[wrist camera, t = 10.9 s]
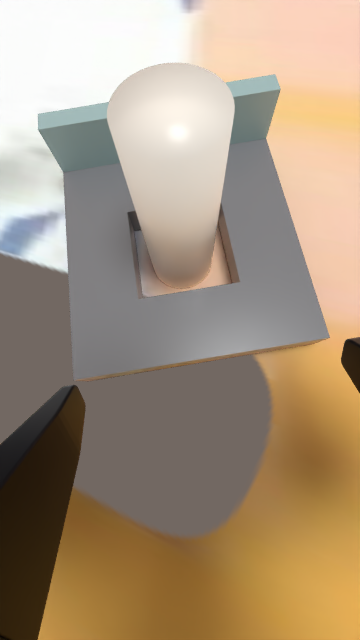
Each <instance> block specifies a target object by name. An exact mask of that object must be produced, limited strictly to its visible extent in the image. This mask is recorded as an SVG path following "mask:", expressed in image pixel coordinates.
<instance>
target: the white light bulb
mask: <svg viewBox="0 0 360 640" xmlns="http://www.w3.org/2000/svg"><path fill="white" fill-rule="evenodd" d="M234 112H235V104H234V99H233V95H232V93H231V91H230V89H229V87H228V86H227V85H226V83H225V82H224V81H223V80H222V79H221V78H220V77H218V76H217V75H216V74H214V73H213V72H211V71H209V70H207V69H205V68H202V67H199V66H196V65H192V64H186V63H164V64H159V65H154V66H151V67H148V68H145V69H142V70H140V71H138V72H136V73H134V74H133V75H131V76H130V77H128V78H127V79H126V80H124V81H123V82H122V83H121V84H120V85H119V86H118V87H117V89H116V90H115V91H114V93H113V95H112V96H111V98H110V101H109V104H108V108H107V121H108V125H109V128H110V132H111V135H112V138H113V141H114V144H115V147H116V151H117V154H118V157H119V160H120V163H121V166H122V170H123V173H124V176H125V179H126V182H127V185H128V189H129V192H130V195H131V198H132V201H133V204H134V208H135V211H136V214H137V217H138V220H139V224H140V227H141V230H142V233H143V236H144V239H145V243H146V246H147V249H148V252H149V255H150V258H151V262H152V265H153V268H154V271H155V273H156V275H157V277H158V278H159V279H160V280H161V281H162V282H163V283H165V284H166V285H168V286H170V287H173V288H180V289H183V288H190V287H193V286H195V285H197V284H199V283H200V282H201V281H203V280H204V279H205V277H206V276H207V275H208V273H209V271H210V268H211V262H212V256H213V249H214V243H215V236H216V230H217V223H218V217H219V210H220V203H221V197H222V190H223V184H224V177H225V171H226V164H227V158H228V151H229V145H230V138H231V132H232V125H233V119H234Z"/></svg>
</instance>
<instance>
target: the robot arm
mask: <svg viewBox="0 0 360 640" xmlns="http://www.w3.org/2000/svg"><path fill="white" fill-rule="evenodd" d="M341 362H342V365H343V367H344V369H345V370H346V372H347V374H348V375H349V377H350V378H351V380H352V382H353V383H354V385H355V387H356V388H357V390H358V391H359V393H360V337H357V338H351V339H347V340H346V341H345V343H344V347H343V352H342V357H341ZM84 416H85V402H84V400H83V398H82V395H81V393H80V391H79V389H78V387H77V386H76V385H70V386H64V387H62V388H61V389H60V390H59V391H58V392H56V393H55V395H53V396H52V397H51V398H50V399H49V400H48V401H47V402H46V403H45V404H44V405H42V406H41V407H40V408H39V409H38V410H37V411H36V412H35V413H34V414H33V415H32V416H31V417H29V418H28V419H27V420H26V421H25V422H24V423H23V424H22V425H21V426H20V427H19V428H18V429H16V430H15V431H14V432H13V433H12V434H11V435H10V436H9V437H8V438H7V439H6V440H5V441H3V442H2V443H1V444H0V640H38V635H39V631H40V627H41V622H42V618H43V614H44V609H45V605H46V600H47V596H48V592H49V587H50V583H51V579H52V574H53V570H54V566H55V561H56V557H57V552H58V548H59V544H60V539H61V535H62V531H63V526H64V522H65V518H66V513H67V509H68V504H69V500H70V496H71V491H72V487H73V483H74V478H75V474H76V469H77V465H78V460H79V455H80V450H81V442H82V433H83V425H84Z"/></svg>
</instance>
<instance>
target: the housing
mask: <svg viewBox="0 0 360 640" xmlns="http://www.w3.org/2000/svg"><path fill="white" fill-rule="evenodd" d="M226 85H227V86H228V87H229V89H230V91H231V93H232V95H233V99H234V104H235V112H234V119H233V125H232V132H231V138H230V145H229V151H228V158H227V164H226V171H225V177H224V184H223V190H222V197H221V203H220V210H219V217H218V224H219V228H220V233H221V237H222V241H223V246H224V250H225V254H226V259H227V263H228V267H229V272H230V276H231V280H232V284H226V285H220V286H214V287H208V288H202V289H196V290H190V291H184V292H178V293H172V294H166V295H160V296H154V297H148V298H143V296H142V288H141V280H140V272H139V265H138V257H137V249H136V241H135V234H134V230H140V229H141V227H140V224H139V220H138V217H137V214H136V211H135V208H134V204H133V201H132V198H131V195H130V192H129V189H128V185H127V182H126V179H125V176H124V173H123V170H122V166H121V163H120V160H119V157H118V154H117V151H116V147H115V144H114V141H113V138H112V135H111V132H110V128H109V125H108V121H107V108H108V104H109V102H107V103H101V104H95V105H89V106H83V107H77V108H71V109H65V110H59V111H53V112H47V113H41V114H38V130H39V132H40V134H41V135H42V137H43V139H44V140H45V142H46V144H47V145H48V147H49V149H50V150H51V152H52V154H53V156H54V157H55V159H56V161H57V162H58V164H59V166H60V167H61V169H62V171H63V174H64V194H65V215H66V236H67V256H68V277H69V297H70V318H71V337H72V359H73V380H76V381H93V380H99V379H105V378H111V377H118V376H124V375H130V374H136V373H141V372H148V371H154V370H159V369H165V368H172V367H178V366H184V365H190V364H195V363H201V362H208V361H214V360H219V359H226V358H232V357H238V356H244V355H250V354H256V353H262V352H268V351H274V350H280V349H286V348H292V347H298V346H304V345H310V344H314V343H317V342H320V341H322V340H325V339H328V338H330V337H329V333H328V330H327V327H326V324H325V321H324V318H323V315H322V312H321V308H320V305H319V302H318V299H317V296H316V293H315V290H314V287H313V284H312V280H311V277H310V274H309V271H308V268H307V265H306V262H305V259H304V255H303V252H302V249H301V246H300V243H299V240H298V237H297V234H296V231H295V227H294V224H293V221H292V218H291V215H290V212H289V209H288V206H287V203H286V199H285V196H284V193H283V190H282V187H281V184H280V181H279V178H278V174H277V171H276V168H275V165H274V162H273V159H272V156H271V153H270V150H269V146H268V143H267V140H266V137H267V133H268V130H269V127H270V123H271V120H272V116H273V113H274V110H275V106H276V103H277V99H278V96H279V93H280V86H279V84H278V81H277V78H276V75H275V74H274V75H268V76H262V77H256V78H250V79H245V80H239V81H233V82H227V83H226Z"/></svg>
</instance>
